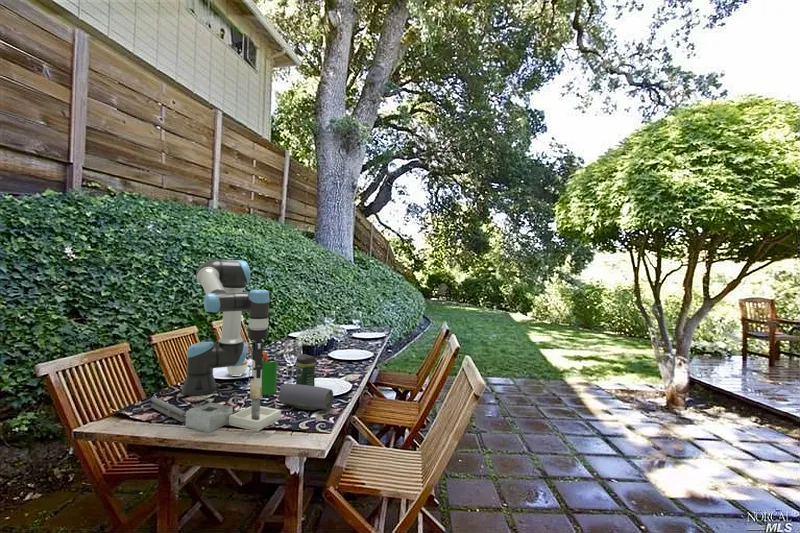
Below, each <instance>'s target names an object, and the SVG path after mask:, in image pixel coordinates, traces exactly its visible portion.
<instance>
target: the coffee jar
mask: <svg viewBox="0 0 800 533" xmlns="http://www.w3.org/2000/svg"><path fill="white" fill-rule="evenodd" d="M295 360H296V361H295V363H296V377H295V378H296V380H295V384H299V385H308V386H316V385H315V367H316V357H314V356H312V355H308V354H306V353H304V354H303V353H302V354H298V355H297V356H296V359H295Z"/></svg>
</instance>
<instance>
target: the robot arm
mask: <svg viewBox="0 0 800 533" xmlns="http://www.w3.org/2000/svg"><path fill="white" fill-rule="evenodd" d="M195 278H196V280H197V282H198V284H199V285H201V286H202V287H203V291H204V294H205V295H204V299H203V307H204V308H203V309H204V310H205V312H207V313H222V329H221V330H222V331H221V337H220V338H219V339H218V342H217V343H216V344H215V343H214V341H200V342H196V343H193V344H191V345H189V346H188V348H187V350H186V351H187V352H186V376H185V380H184V383H183V386H182V387H181V394H183V395H185V396H194V397H196V396H204V395H208V394H212V393H214V392H216V390H217V383H216V380H215V377H214V369H218V368H220V369H221V368H227V367H230V366H232V367H234V366H238V365H241V364H242V363H243V362H244V360H246V356H247V343H246V342H244V339H243V338H242V337H241V330H242V329H241V328H242V312H248V320H247V321H246V323H248V330H247V331H248V332H247V338H248V339H249V340H252V343H251V344H252V345H251V346H252V354H251V358H252V361H251V364H252V365H251V377H253V379H254V386H262V369H263V358H262V353H263V352H264V343H263V340H265V339H267V338H268V336H269V329H268V328H269V311H270V310H269V309H270V292H269V291H268V290H266V289H251V290H250V291H247V292H243V291H244V290H245V289H246V288H247V284H250V283H251V271H250V266H249V264H248V262H247V261H245V260H242V259H241V260H240V259H210V260H207V261H206V262H203V263H202V264H200V266H199V267H198V268H197V270H196V274H195Z"/></svg>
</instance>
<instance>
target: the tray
mask: <svg viewBox="0 0 800 533" xmlns="http://www.w3.org/2000/svg"><path fill="white" fill-rule="evenodd" d="M251 409H252V405H251V406H248V407H246V408H244V409H241V410H239V411H237V412H235V413H233V414H232V415H230V416H229V424H228V425H229V426H233V427H237V428H242V429H246V430H250V431H255V432H259V431H260V430H262V429H265V428H266V427H268V426H270V425H272V424H274V423H275V422H277V421H279V420H281V418H282V409H278V408H277V409H276V408H272V407H266V406H261V405H260V419H259V420H253V419H251Z"/></svg>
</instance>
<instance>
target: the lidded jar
mask: <svg viewBox="0 0 800 533" xmlns="http://www.w3.org/2000/svg"><path fill="white" fill-rule="evenodd" d="M247 367H248V360H246V359H245V360H244V362H243V363H242V364H241V365H238V366H234V367H232V366H230V367H226V370H227V372H228V375H230V376H231V375H240V374H243V373H244V374H245V372H246V371H247ZM244 374H243V375H244Z"/></svg>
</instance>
